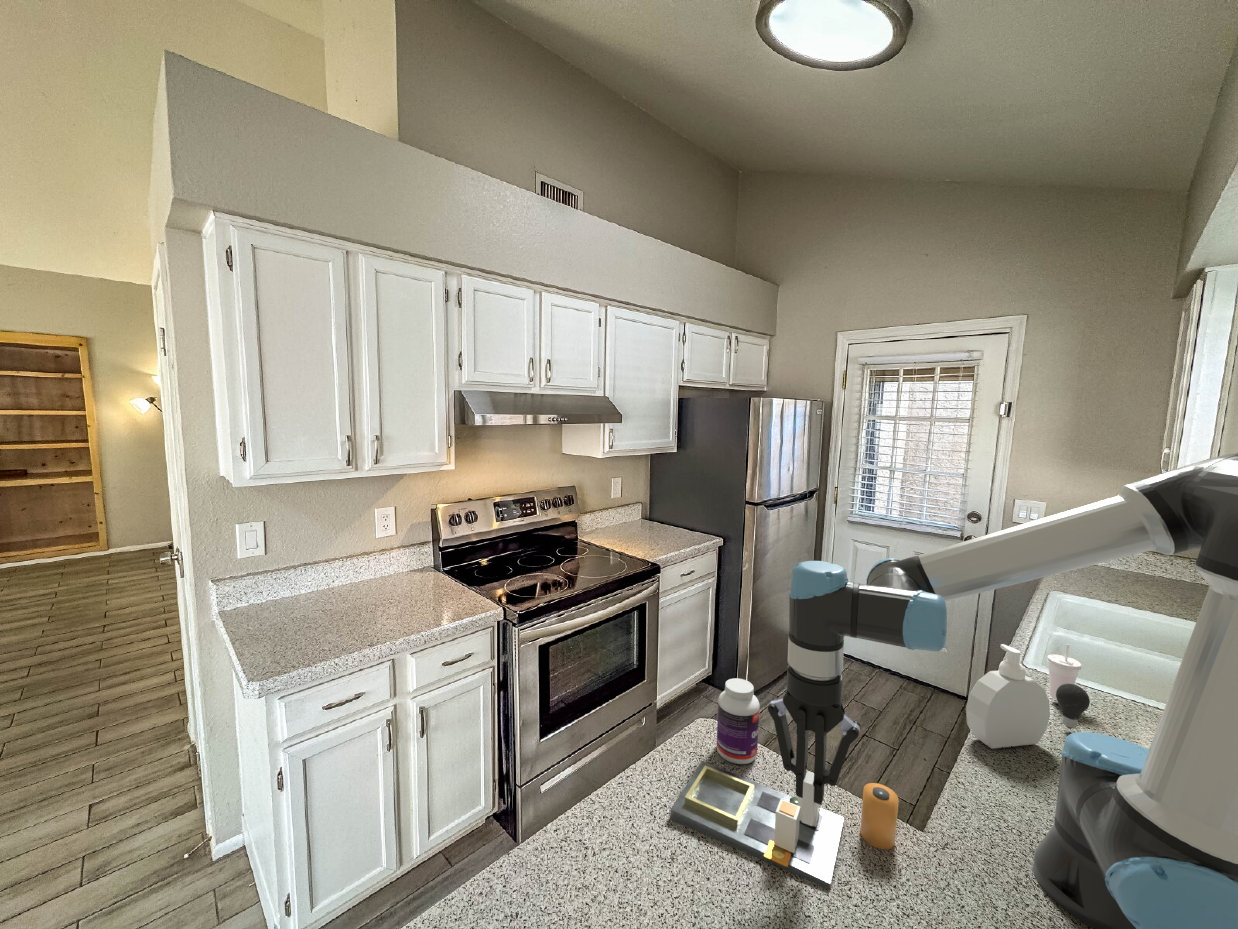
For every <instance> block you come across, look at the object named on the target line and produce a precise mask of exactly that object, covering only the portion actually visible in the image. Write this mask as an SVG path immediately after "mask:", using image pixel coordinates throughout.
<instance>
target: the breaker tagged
mask: <svg viewBox="0 0 1238 929" xmlns="http://www.w3.org/2000/svg"><path fill="white" fill-rule="evenodd" d="M799 822H800V806H797V805H795V804H792V803H790V802H787V801H785V800H782V799H780V802H779V805H778V807H777V810H776V818H775V834H774V845H776V846H779V847H781V848H783V849H785V850H788V851H790V852H792V853H794V852H795V849H796V845H797V842H798V837H799Z"/></svg>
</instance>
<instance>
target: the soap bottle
mask: <svg viewBox="0 0 1238 929" xmlns="http://www.w3.org/2000/svg"><path fill="white" fill-rule="evenodd" d="M999 648H1001V649H1002V650H1003V651H1005V652H1006V653H1007V655H1006V659H1005V660H1002V661H1000V663H999V665H998V670H990V671H988V672H987V673H985V674H984V675H983V676H981V678H979V679H978V680H977V681H976V683H975V685H974V686H973V688H972V690H971V691H970V692H969V696H968V698H967V699H968V700H967V703H966V707H965V713H966V714H965V715H966V724H967V726H968V728H969V730H970V732H971V729H972V732H971V734H972V736H974V738H977V739H978V740H979V741H981V742H982V743H983V744H985V746H988V748H990V749H991V750H992V749H1001V748H1002V747H1003V748H1011V746H1012V747H1019V746H1029V745H1037V744H1039V742H1040V740H1041V739H1042V738H1043V736H1044V734H1045V733H1046V732H1047V728H1048V724H1049V721H1050V717H1051V708H1050V699H1049V697H1048V695H1047V693H1046V692H1047V691H1046V690H1045V688H1044V686H1042V685H1041V684H1040V683H1039V682H1037V681H1036V680H1034V679H1033V678H1031V677H1030V676H1027V675H1026V674H1027V672H1026V669H1025V666H1024V665H1022V664H1021V663H1020V659H1021V650H1020V649H1016V648H1014V647H1012V646H1010V645H1007V644H1005V643H1003V644H1002V643H1001V644H1000V647H999ZM972 727H973V728H972Z"/></svg>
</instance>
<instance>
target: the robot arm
mask: <svg viewBox="0 0 1238 929" xmlns="http://www.w3.org/2000/svg"><path fill="white" fill-rule="evenodd" d="M1192 550H1199V553H1198V556H1197V558H1196V562H1195V564H1194V568H1195V569H1196V570H1197V572H1199V574H1200V575H1201V577H1202V578H1203V579H1204V580H1205V581H1206V583H1207V584H1208V589H1207V592H1206V595H1205V598H1204V600H1203V603H1202V606H1201V609H1200V611H1199V614H1198V616H1197V620H1196V622H1195V624H1194V627H1193V630H1192V633H1191V635H1190V639H1189V641H1188V642H1187V646H1186V649H1185V652H1184V654H1183V657H1182V660H1181V662H1180V665H1179V668H1178V671H1177V674H1176V677H1175V678H1174V681H1173V684H1172V688H1171V690H1170V693H1169V695H1168V698H1167V701H1166V704H1165V707H1164V709H1163V712H1162V714H1161V717H1160V720H1159V723H1158V725H1157V728H1156V731H1155V733H1154V736H1153V739H1152V741H1151V744H1150V747H1149V748H1147V747H1144V746H1142V745H1139V744H1138V743H1134V742H1131V741H1130V740H1129V741H1128V740H1125V739H1122V738H1120V737H1115V736H1112V735H1108V734H1103V733H1098V732H1089V731H1078V732H1077V731H1076V732H1071V733H1069V734H1068V735H1067V736H1066V737H1065V740H1064V745H1063V750H1060V754H1061V763H1060V772H1059V777H1058V778H1059V779H1058V788H1057V795H1056V796H1057V797H1056V803H1055V804H1056V805H1055V813H1054V822H1053V825H1052V827H1051V828H1050V829H1049V831H1048V832H1047V833H1046V834H1045V836H1044V837H1043V839H1042V840H1041V841H1040V843H1039V844H1038V846H1037V847H1036V849H1035V851H1034V854H1033V863H1032V873H1033V875H1034V877H1035V879H1036V882H1037V883H1038V885H1039V886H1040V887H1041V889H1042V890H1043V891H1044V892H1045V893H1046V894H1047V896H1048V897H1050V898H1051V900H1052V901H1053V902H1055V903H1056V904H1057V905H1058V906H1059V907H1061V908H1062V909H1063V910H1064V912H1067V914H1069V915H1071V916H1072V917H1074V918H1075V919H1076V920H1078V921H1079V922H1081V923H1082V924H1084V925H1086V926H1088V927H1090V928H1091V929H1238V452H1237V453H1230V454H1225V455H1224V454H1223V455H1220V456H1215V457H1210V458H1206V459H1203V460H1201V461H1200V460H1199V461H1197V462H1193V463H1191V464H1188V465H1184V466H1180V467H1177V468H1174V469H1170V470H1168V471H1166V472H1163V473H1162V472H1161V473H1160V474H1155V475H1153V476H1151V477H1147V478H1144V479H1140V480H1137V481H1135V482H1131V483H1128V484H1125V485H1122V486H1121V488H1120V490H1119V492H1118V493H1117V494H1116V496H1113V497H1109V498H1105V499H1103V500H1099V501H1096V502H1091V503H1089V504H1086V505H1082V506H1079V507H1075V508H1072V509H1069V510H1065V511H1063V512H1058V513H1056V514H1055V513H1054V514H1053V515H1052V514H1051V515H1049V516H1045V517H1042V518H1039V519H1038V518H1037V519H1036V520H1032V521H1028V522H1025V523H1021V524H1018V525H1015V526H1012V527H1008V528H1005V529H1002V530H998V531H995V532H992V533H988V534H985V535H982V536H979V537H975V538H971V539H967V540H965V541H961V542H958V543H954V544H951V545H949V546H945V547H941V548H939V549H938V548H937V549H934V550H931V551H928V552H924V553H922V554H918V555H915V556H910V557H907V558H903V559H900V558H896V557H894V558H893V557H890V558H889V557H887V558H884V559H881V560H879V561H877V562H876V563H875V564H874V565H872V567H871V569H870V571H869V572H868V575H867V577H866V584H865V583H864V584H863V583H858V582H854V581H849V577H848V574H847V573H848V572H847V570H846V569H845V568H844V567H843V566H842V565H839V564H836V563H831V562H828V561H824V560H823V561H822V560H806V561H800V562H797V564H795V565H794V566H793V567H792V570H791V576H790V577H791V579H790V589H789V590H790V591H789V593H788V594H789V595H788V597H789V602H788V603H789V605H788V606H789V607H788V608H789V617H788V619H789V620H788V638H787V639H788V641H787V642H788V644H787V663H788V665H787V670H786V671H787V673H786V675H787V676H786V691H785V693H784V695H783V696H782V698H779V699H777V698H775V697H774V698H772V699H771V701H770V702H769V705H768V706H767V711H768V713H769V715H770V717H771V719H772V721H773V723H774V728H775V732H776V737H777V741H778V746H779V751H780V756H781V757H780V758H781V761H782V765H783V768H784V770H786V771H788V772H792V773H793V774H794V776H795V795H796V797H797V798H798V797H801V798H803V801H802V823H805V824H807V825H810V826H812V825H813V822H814V818H815V814H816V803H817V804H820V806H821V805H822V803H823V801H824V797H825V785H829V786H831V787H835V786H836V785H837V782H838V779H839V776H840V773H841V770H842V768H843V765H844V763H845V761H846V760H845V759H846V757H847V754H848V751H849V748H850V746H851V744H852V743H854V741H855V740H857V739H858V738H859V736H860V730H861V727H862V726H861V723H860V721H859V722H858V721H857V720H852V719H851V718H850V717H848V716H847V715H846V714H845V713H846V711H845V708H844V706H843V703H842V698H843V696H842V694H843V693H842V692H843V675H842V674H843V668H844V646H845V645H844V644H845V637H850V638H854V639H860V640H865V641H871V642H875V643H881V644H886V645H891V646H895V647H896V646H897V647H900V648H906V649H907V650H912V651H914V650H919V651H927V652H928V651H929V652H940V651H942V650H943V649H944V646H945V644H946V640H947V632H948V631H947V628H948V613H947V609H948V608H947V603H946V602H950V601H954V600H957V599H961V598H967V597H969V596H973V595H977V594H982V593H985V592H990V591H993V590H997V589H1002V588H1005V587H1010V586H1013V585H1014V586H1015V585H1018V584H1023V583H1026V582H1030V581H1034V580H1037V579H1038V580H1039V579H1041V578H1042V579H1043V578H1046V577H1050V576H1054V575H1058V574H1062V573H1066V572H1070V571H1074V570H1079V569H1082V568H1087V567H1090V566H1095V565H1099V564H1103V563H1107V562H1111V561H1115V560H1118V559H1122V558H1123V559H1124V558H1127V557H1130V556H1131V557H1132V556H1135V555H1138V554H1142V553H1147V552H1152V551H1153V552H1156V553H1158V554H1163V555H1166V556H1170V555H1175V554H1178V553H1182V552H1183V553H1184V552H1186V551H1192ZM786 712H788V713H789V715H790V717H791V718H792V720H793V722H794V723H795V724H796V732H795V735H796V753H795V751H794V748H793V747H794V746H793V742H792V738H791V732H790V728H789V727H790V726H789V723H788V719H787V718H788V717H787V714H786ZM839 724H840V726H841V727H840V732H841V734H842V735H841V737H840V741H839V743H838V746H837V749H836V752H835V753H834V754H835V755H834V758H833V760H832V763H831V765H830V769H827V767H826V765H827V744H828V743H827V741H828V739H827V738H828V733H829V732H831V731H832V730H833V729H834V728H835V727H837V726H838V725H839ZM809 731H811V732H813V733H814V741H815V742H814V765H813V768H814V769H813V772H812V771H809V770H808V767H809V764H808V756H809V752H808V751H809V735H810V734H809V733H810V732H809ZM795 754H796V755H795Z"/></svg>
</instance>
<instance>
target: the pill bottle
mask: <svg viewBox="0 0 1238 929" xmlns="http://www.w3.org/2000/svg"><path fill="white" fill-rule="evenodd" d="M754 689H755V688H754V685H753V684H752V683H751V681H748V680H746V679H743V678H739V677H738V678H737V677H736V678H729V679H728V680H726V681H725V684H724V690H723V691H722V692H721V693H720V694H719V696H718V699H717V700H718V701H717V702H718V703H717V724H716V750H717V753H718V754H719V756H720V757H722V759H723V760H725V761H727V762H729V763H732V764H734V765H735V764H737V765H746V764H750V763H752V762H753V761H755V759H756V758H757V756H758V747H759V746H758V744H759V742H758V741H759V725H760V724H759V723H760V722H759V721H760V709H761V708H760V707H761V706H760V702H759V698H757V696H756V695H754V694H755V692H754Z"/></svg>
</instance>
